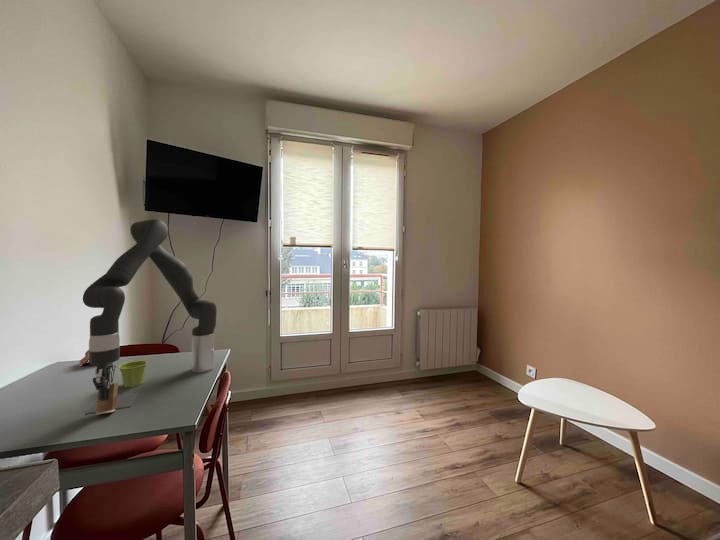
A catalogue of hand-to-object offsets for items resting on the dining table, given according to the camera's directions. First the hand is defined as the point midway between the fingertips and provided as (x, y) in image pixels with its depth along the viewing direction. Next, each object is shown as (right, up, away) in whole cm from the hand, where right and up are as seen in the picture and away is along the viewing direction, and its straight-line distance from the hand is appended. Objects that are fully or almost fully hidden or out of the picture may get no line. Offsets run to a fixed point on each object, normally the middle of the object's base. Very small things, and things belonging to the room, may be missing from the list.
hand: (105, 399), depth 94 cm
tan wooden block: (-1, -5, +1) cm, 5 cm away
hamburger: (-46, -5, +48) cm, 67 cm away
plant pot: (-10, -5, +25) cm, 27 cm away
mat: (-5, -6, +9) cm, 12 cm away
